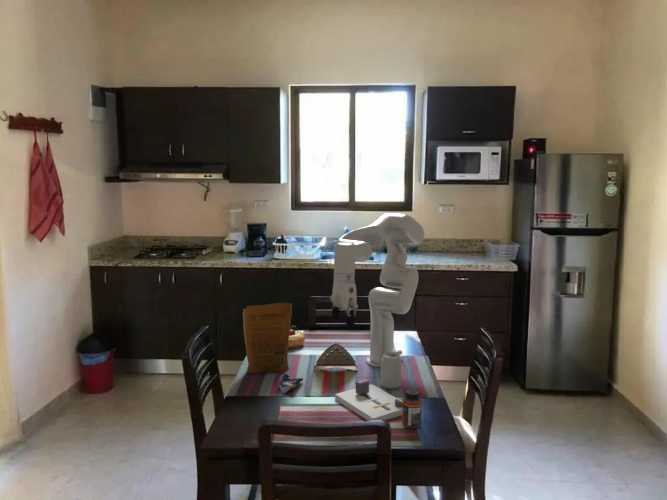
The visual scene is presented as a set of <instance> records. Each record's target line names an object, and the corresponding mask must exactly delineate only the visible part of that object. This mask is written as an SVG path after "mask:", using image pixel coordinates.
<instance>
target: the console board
mask: <svg viewBox="0 0 667 500" xmlns="http://www.w3.org/2000/svg"><path fill="white" fill-rule="evenodd" d="M334 395H335V396H334V397H335V399H334V400H335V401H337V402H338V403H340V404H341V405H343V406H345V407H346V408H348V409H349V410H351V411H353V412H354V413H355V414H357V415H358V416H360V417H361V416H362V417H361V418H363V419H364V418H365V419H364V420H366V421H367V420H368V422H369V421H371V420H385V421H387V420H386V419H388V420H391V419H394V418H397V417H400V416H403V398H398V397H395V396H394V395H392V394H390V393H389V392H387V391H385V390H383V389H381V388H379V387H378V386H376V385H374V384H369V393H365V394H362V395H359V394H357V393H356V388H353V389H349V390H345V391H341V392H339V393H335V394H334Z"/></svg>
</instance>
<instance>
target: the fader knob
mask: <svg viewBox="0 0 667 500" xmlns="http://www.w3.org/2000/svg"><path fill="white" fill-rule="evenodd" d="M369 385H370V381H369V380H367V379H360V380H358V381H355V389H356V393H357V394H359V395H362V394H365V393H369Z"/></svg>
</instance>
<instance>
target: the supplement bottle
mask: <svg viewBox="0 0 667 500" xmlns="http://www.w3.org/2000/svg"><path fill="white" fill-rule="evenodd" d="M405 393H406V394H405V396H404V397H403V398H402V399H403V415H402V425H403V426H404V427H405V428H407V429H418V428H420V427H421V426H422V413H423V412H422V411H423V409H422V408H423V400H422V398H421V397H420V390H417V389H412V388H411V389H410V388H409V389H407V390H406V391H405Z"/></svg>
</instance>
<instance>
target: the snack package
mask: <svg viewBox="0 0 667 500" xmlns="http://www.w3.org/2000/svg"><path fill="white" fill-rule="evenodd" d="M303 381H304V378H303V377H302V378H296V377H295V378H292V379H291V378H290V375H289V374H288V373H286V372H285V373H284V372H282V374H281V375H280V377H279V378H278V382H279V384H278V385H279V386H278V387H279V389H280V391H281V393H282V394H285V395H286V394H287V393H288V391H290V390H291V391H292V389H294V388H296V387H297V386H298V385H300V383H301V382H303ZM288 387H289V388H288ZM287 388H288V389H287ZM285 389H287V390H285ZM284 390H285V391H284ZM283 391H284V392H283Z"/></svg>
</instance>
